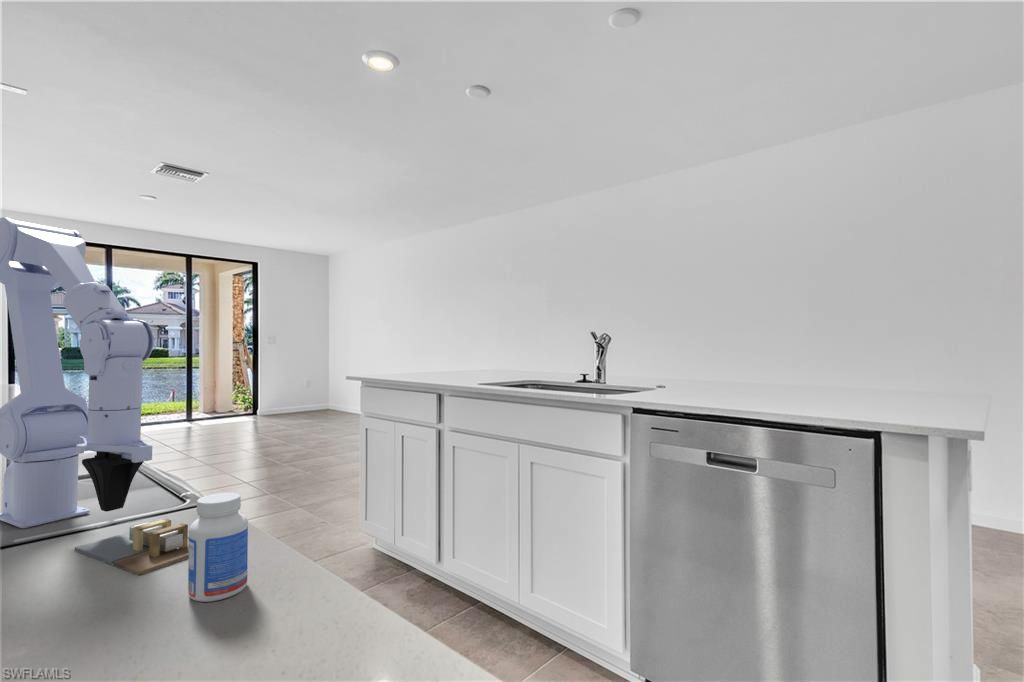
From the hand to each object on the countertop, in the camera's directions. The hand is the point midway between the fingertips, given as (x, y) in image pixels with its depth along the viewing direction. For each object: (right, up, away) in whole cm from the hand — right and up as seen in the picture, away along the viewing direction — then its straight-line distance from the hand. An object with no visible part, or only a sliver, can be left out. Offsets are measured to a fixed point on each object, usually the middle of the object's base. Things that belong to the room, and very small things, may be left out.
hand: (112, 509), depth 69 cm
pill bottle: (+23, -4, -15) cm, 28 cm away
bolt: (+9, -4, -5) cm, 11 cm away
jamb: (+12, -4, -6) cm, 14 cm away
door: (+6, -4, -3) cm, 7 cm away
